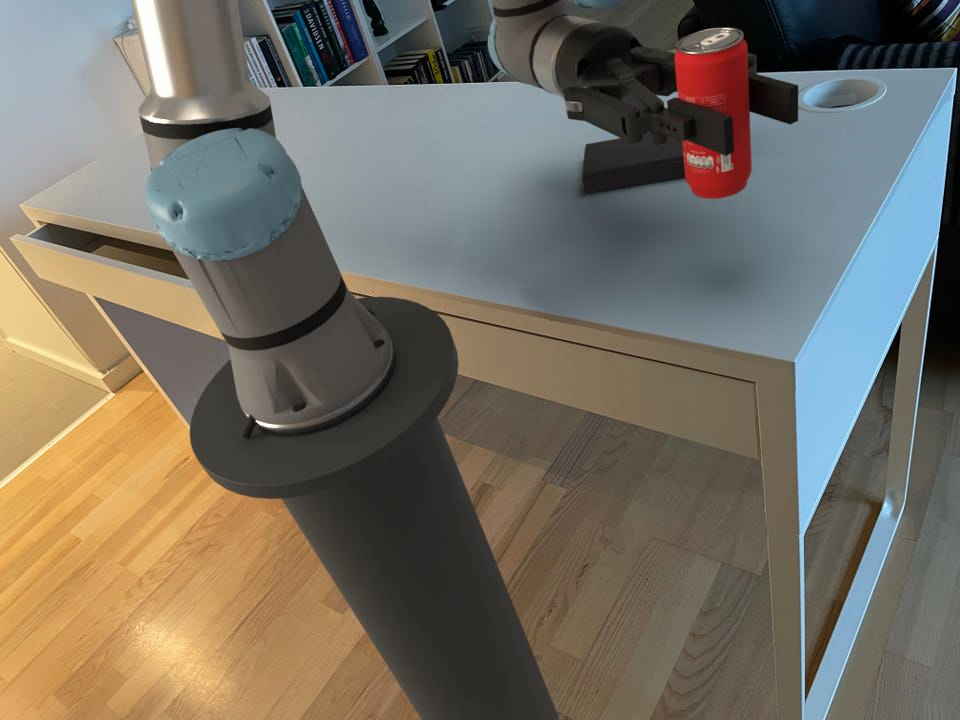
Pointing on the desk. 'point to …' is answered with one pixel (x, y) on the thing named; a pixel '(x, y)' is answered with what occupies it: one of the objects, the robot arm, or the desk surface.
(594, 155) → the black flat box
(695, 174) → the beverage can
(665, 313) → the desk surface
